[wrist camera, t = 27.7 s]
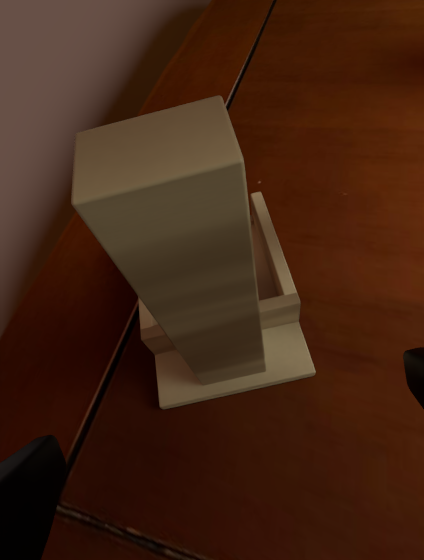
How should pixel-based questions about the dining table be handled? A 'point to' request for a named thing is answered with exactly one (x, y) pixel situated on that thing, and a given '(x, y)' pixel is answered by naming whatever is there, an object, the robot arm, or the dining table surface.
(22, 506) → the robot arm
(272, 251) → the scoop
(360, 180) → the dining table surface
